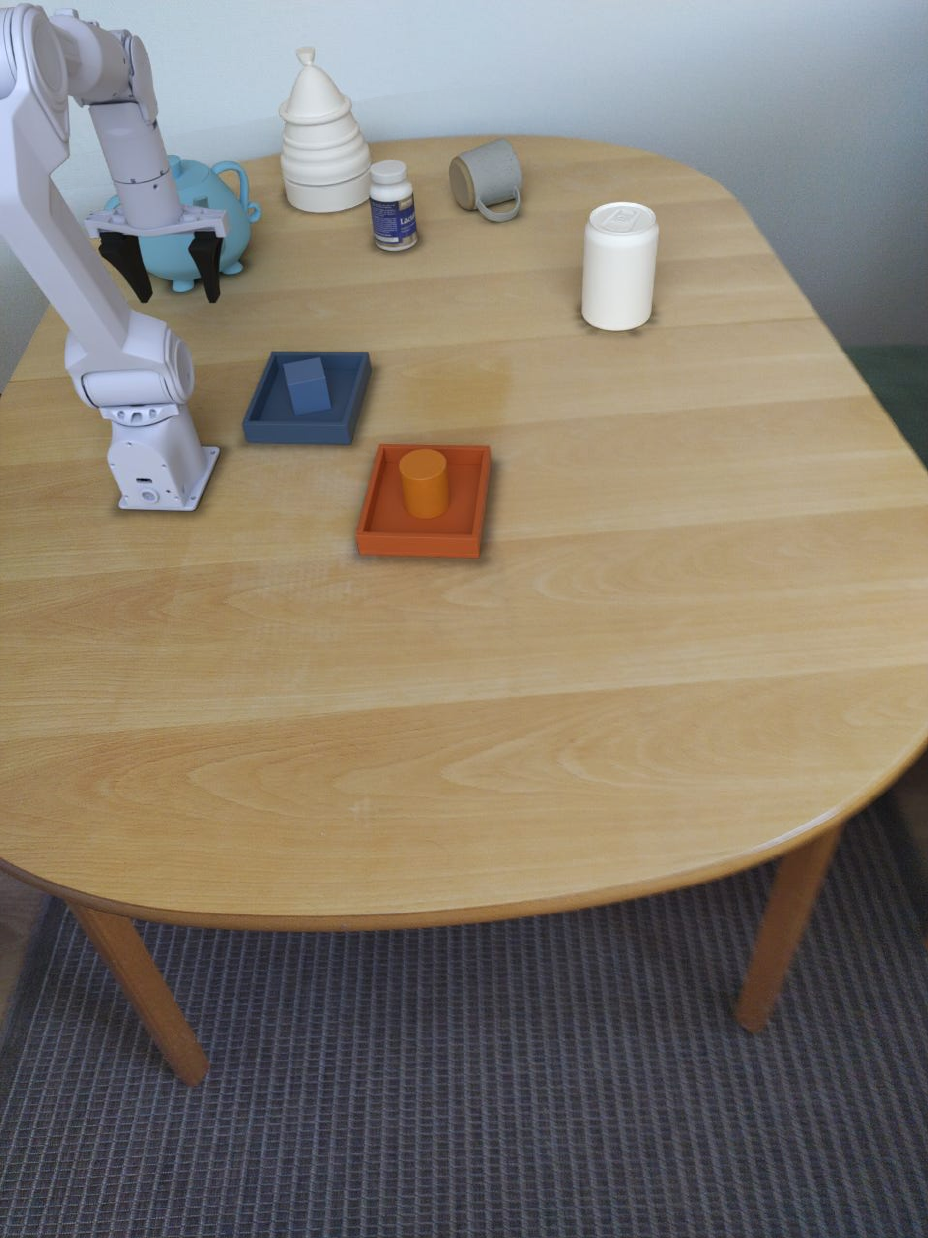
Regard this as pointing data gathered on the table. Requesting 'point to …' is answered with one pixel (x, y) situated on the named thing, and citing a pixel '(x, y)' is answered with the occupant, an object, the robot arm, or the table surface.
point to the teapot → (171, 251)
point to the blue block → (307, 386)
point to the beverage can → (619, 265)
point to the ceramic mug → (487, 178)
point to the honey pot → (322, 144)
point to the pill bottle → (392, 206)
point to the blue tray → (278, 423)
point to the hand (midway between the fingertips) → (181, 298)
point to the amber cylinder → (424, 483)
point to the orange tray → (443, 536)
